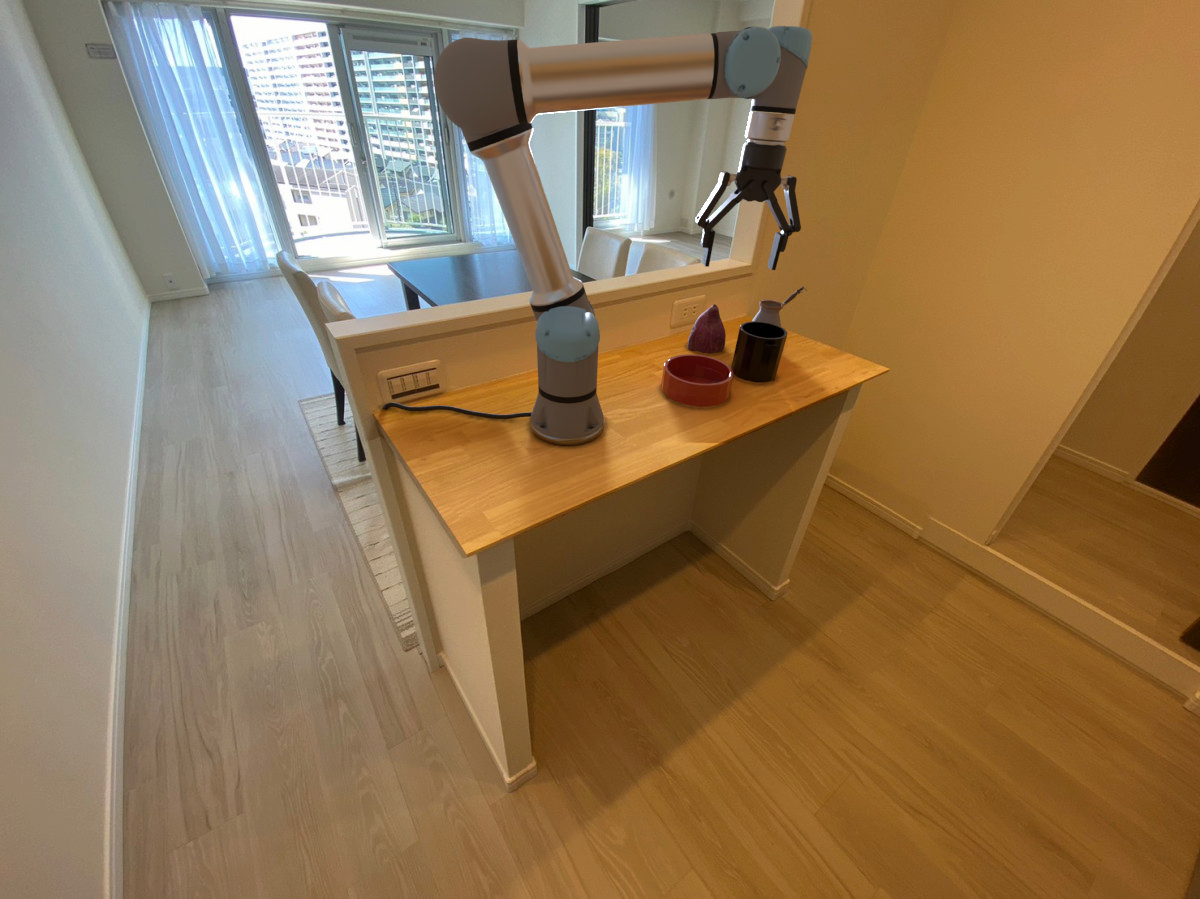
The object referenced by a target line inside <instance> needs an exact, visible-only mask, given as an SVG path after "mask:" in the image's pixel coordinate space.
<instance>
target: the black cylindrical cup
mask: <svg viewBox="0 0 1200 899" xmlns="http://www.w3.org/2000/svg"><path fill="white" fill-rule="evenodd" d="M751 321H752V320H751ZM751 321H746V322H744V323H741V324H740V326H739V329H738V334H737V339H736V343H735V348H734V352H733V357H732V361H731V366H730V367H731V368H732V370H733V372H734V374H733V376H735V377H736V378H737V379H741V380H743V381H746V382H751V383H758V384H759V383H761V384H763V383H770V382H775V380H776V378H777V374H778V370H779V367H780V366H779V365H780V363H781V360H782V356H783V352H784V348H785V344H786V342H787V338H788V333H789V332H788V331H787V329H785V327H782V326H781V327H780V326H778V325H775V324H772V323H767V322H758V321H752V322H751Z"/></svg>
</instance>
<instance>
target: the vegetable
mask: <svg viewBox="0 0 1200 899" xmlns="http://www.w3.org/2000/svg"><path fill="white" fill-rule="evenodd" d="M724 325H725V324H724V323H723V321H722V318H721V314H720V309H719V307H718V305H717V304H715V303H713V304H712V305H711V306H709V307H708V308H706V310H705V311H704V312H702V313H701V314H700V315H699V316H698V318H696V321H695V322H694V324H693V326H692V328H691V330H690V333H689V336H688V340H687V345H686V346H687V347H686V348H687V349H688V350H689V351H691V352H699V353H702V354H716V353H722V352H723V351H724V349H725V346H726V329H725V326H724Z"/></svg>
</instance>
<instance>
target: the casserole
mask: <svg viewBox="0 0 1200 899" xmlns="http://www.w3.org/2000/svg"><path fill="white" fill-rule="evenodd" d="M733 380H734V372H733V370H732V368H731V366H730V365H729V364H727V363H726V362H724V361H722V360H720V359H718V358H715V357H712V356H708V355H704V354H703V355H702V354H691V353H690V354H689V353H688V354H687V353H686V354H678V355H675V356H672V357H670V358H668V359H666V360H665V361H664V364H663V368H662V375H661V385H660V387H661V391H662V393H663V394H664V395H665V396H666V397H668V399H671V400H672V401H674V402H677V403H680V404H681V405H686V406H690V407H700V408H704V407H705V408H709V407H714V406H715V407H716V406H718V405H721V404H723V403H725V402H726V401H727V400H728V399H729V397H730V392H731V388H732V383H733Z"/></svg>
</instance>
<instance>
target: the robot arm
mask: <svg viewBox="0 0 1200 899" xmlns="http://www.w3.org/2000/svg"><path fill="white" fill-rule="evenodd" d="M812 43H813V34H812V31H811V30H810V29H808V28H806V27H803V26H795V25H794V26H793V25H788V26H787V25H776V26H771V27H769V28H766V27H764V26H747V27H745V28H743V29H740V30H727V31H717V32H712V33H711V32H704V33H703V32H702V33H691V34H681V35H680V34H679V35H667V36H657V37H645V38H632V39H621V40H610V41H596V42H587V43H586V42H585V43H574V44H560V45H559V44H558V45H550V46H536V47H529V46H528V45H527V44H526V43H525V42H524V41H523V40H522V39H520V38H518V39H517V38H516V39H483V38H475V37H462V38H458V39H455V40H454V41H452V42H449V44H448V45H446V47H444V49H443V50H442V51H441V52H440V54H439V56H438V58H437V60H436V63H435V67H434V73H433V74H434V75H433V83H434V84H433V85H434V91H435V95H436V99H437V101H438V103H439V106H440V107H441V110H442V111H443V113H444V114H445V116H446V117H447V118H448V120H450V121H451V122H452V123H453V124H454V125H455V126H457V127H458V128H459V129H460V130H461V132H462V135H463V138H464V140H465V142H466V145H467V148H468V150H469V153H470V154H471V155H473V156H475V157H476V158H477V159H479V160H481V161H482V162H483V165H484V167H485V170H486V173H487V176H488V178H489V180H490V183H491V186H492V189H493V191H494V194H495V196H496V198H497V201H498V204H499V206H500V209H501V211H502V214H503V217H504V219H505V222H506V224H507V227H508V229H509V232H510V234H511V237H512V240H513V243H514V246H515V248H516V250H517V253H518V255H519V259H520V260H521V263H522V266H523V269H524V271H525V273H526V276H527V279H528V282H529V284H530V287H531V290H532V292H531V295H530V297H529V300H528V302H529V305H530V307H531V309H532V312H533V315H534V317H535V319H536V327H535V334H534V335H535V336H534V337H535V341H536V353H537V354H536V359H537V362H536V363H537V384H538V386H537V388H538V391H537V392H538V393H537V395H536V399H535V402H534V405H533V408H532V411H528V412H527V411H526V412H516V413H509V414H499V413H497V414H495V413H488V412H481V411H474V410H469V409H465V408H460V407H457V406H451V405H424V406H408V405H404V404H401V403H398V402H395V401H393V402H388V403H386V404H384V405H383V406H382V409H383V410H388V409H390V408H398V409H400V410H403V411H407V412H425V411H451V412H455V413H459V414H464V415H467V416H474V417H479V418H486V419H495V420H511V419H518V418H528V417H529V418H530V428H531V431H532V433H533V434H534V435H535V436H536V437H537V438H538V439H540V440H542V441H543V442H546V443H549V444H553V445H558V446H578V445H583V444H587V443H589V442H592V441H594V440H595V439H597V438H598V437H599V436H600V435H601V434H602V433H603V432H604V431H603V430H604V428H605V417H604V413H603V409H602V406H601V403H600V400H599V396H598V392H597V391H598V390H597V388H598V369H599V368H598V365H599V343H600V340H601V331H600V325H599V321H598V319H597V318H596V314H595V310H594V307H593V304H591V301H590V300H589V297H588V296H587V292H586V289H585V285H584V283H583V281H582V280H581V279H578V278H577V277H575V276H574V275H573V273H572V269H571V267H570V264H569V261H568V258H567V255H566V252H565V249H564V246H563V243H562V240H561V236H560V233H559V231H558V228H557V224H556V221H555V218H554V216H553V212H552V210H551V207H550V204H549V200H548V198H547V195H546V192H545V188H544V185H543V183H542V179H541V176H540V174H539V170H538V167H537V164H536V161H535V158H534V156H533V152H532V149H531V145H530V141H531V138H532V136H533V133H534V127H533V124H532V122H533V121H534V119H535V118H536V117H537V116H538V115H543V114H544V115H545V114H554V113H555V114H556V113H566V112H577V111H580V112H581V111H590V110H600V109H601V110H602V109H603V110H604V109H613V108H625V107H635V106H646V105H647V106H648V105H657V104H670V103H680V102H682V103H683V102H692V101H702V100H703V101H704V100H721V99H743V100H751V106H750V112H749V115H748V121H747V126H746V130H745V134H744V138H745V139H746V140H747V142H745V143H744V144H743V145H742V150H741V156H740V161H739V166H738V170H737V172H736V173H731V172H728V171H726V170H722V171H721V172H720V173H719V176H718V180H717V184H716V185H715V187H714V189H713V190H712V192H711V193H710V195H709V197H708V198H707V199H706V201H705V202H704V205H703V206H702V207H701V209H700V211H699V212H698V214H697V215H696V217H695V219H694V223H695V224H696V225H697V226H698V227H701V228H702V234H701V240H700V246H701V247H702V249H704V251H703V256H702V261H701V263H702V265H703V266H704V267H708V268H709V267H710V263H711V258H712V252H713V247H714V241H715V238H716V237H715V235H716V230H715V229H713V228H714V227H715V226H717V224H718V223H720V221H722V220H723V218H724V217H726V215H728V213H730V211H732V209H733V208H735V206H737V205H738V204H740V203H741V202H742V201H745V202H758V203H763V202H766V204H767V206H768V207H769V210H770V212H771V214H772V216H773V218H774V220H775V222H776V224H777V226H778V228H779V231H780V232H779V231H777V232H775V235H774V238H773V241H772V246H771V250H770V253H769V258H768V262H767V268H769V269H770V270H771V271H776V269H777V265H778V262H779V258H780V255H781V253H785V250H786V247H787V244H788V240H789V237H790V236H792V235H793V234H794V233H799V232H801V230H802V224H801V219H800V212H799V207H798V206H799V205H798V201H797V195H796V188H797V187H796V186H797V179H798V178H797V177H796V176H793V175H791V174H789V175H787V176H781V175H782V174H781V173H782V170H783V166H784V162H785V159H786V154H787V150H788V148H787V146H786V145H785V143H788V142H789V140H790V137H791V133H792V128H793V125H794V121H795V118H796V117H795V115H796V112H797V106H798V103H799V100H800V95H801V92H802V87H803V84H804V80H805V77H806V72H807V69H808V67H809V62H810V61H809V60H810V56H811V50H812ZM733 182H734V184H735V187H736V189H735V190H733V192H732V193H731V194H729V197H728V198H727V199H726V200H724V202H723V203H722V204H721V205H720V206H719V207H718V208H717V209H716V210H715V211H714V212H713V213H712V211H713V210H714V209H715V208H716V206H717V204H718V203H719V201H720V199H721V197H722V196H723V195H724V193H725V191H726V189H727V187H730V186H731V184H732V183H733ZM780 186H781V189H782V190H783V193H784V201H785V205H786V211H787V216H788V217H787V218H788V221H787V218H786V216H785V215H784V213H783V210H782V208H781V206H780V203H779V202H778V200H779V199H778V198H777V195H776V194H775V191H776V190H777V189H778V188H779V187H780ZM711 213H712V214H711ZM788 222H789V223H788Z"/></svg>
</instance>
